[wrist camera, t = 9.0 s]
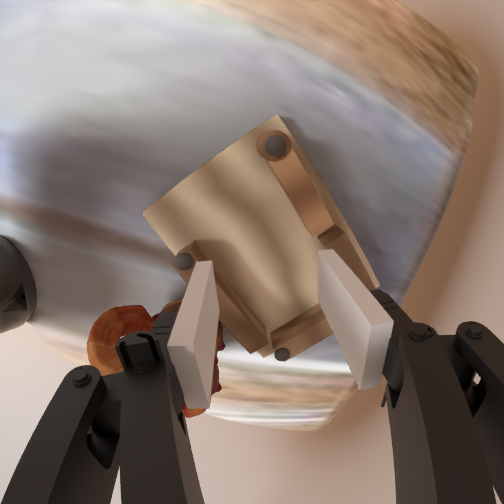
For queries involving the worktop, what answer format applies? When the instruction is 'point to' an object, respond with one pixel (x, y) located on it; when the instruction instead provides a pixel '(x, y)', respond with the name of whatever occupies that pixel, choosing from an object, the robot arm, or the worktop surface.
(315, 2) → the worktop surface
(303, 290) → the seat
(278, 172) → the leg
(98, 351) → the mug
